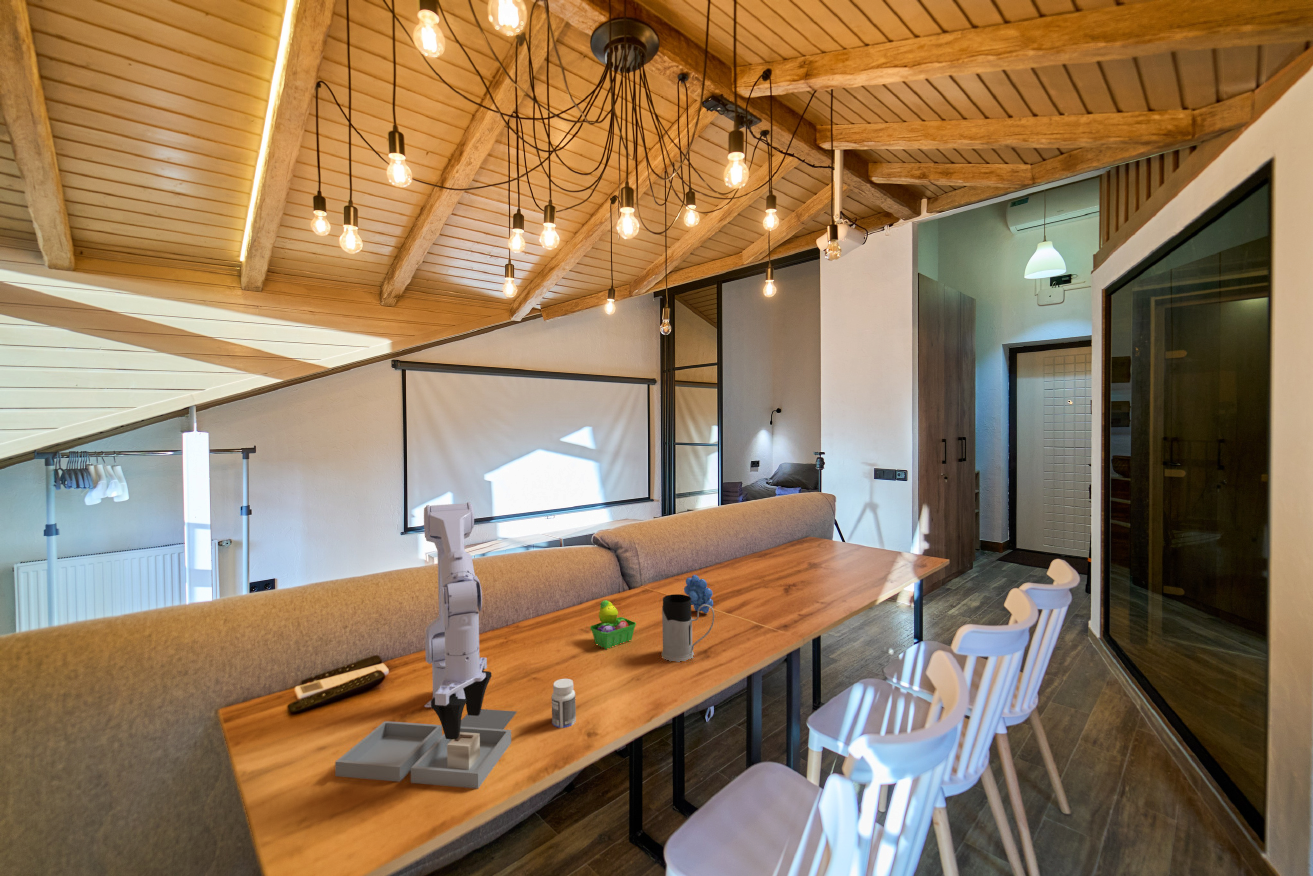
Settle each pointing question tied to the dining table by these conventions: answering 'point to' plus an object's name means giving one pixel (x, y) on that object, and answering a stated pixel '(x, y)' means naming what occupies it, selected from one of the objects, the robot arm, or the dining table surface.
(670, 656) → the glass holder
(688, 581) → the grapes
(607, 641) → the fruit basket
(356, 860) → the dining table surface
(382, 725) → the tray
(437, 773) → the tray
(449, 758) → the letter cube
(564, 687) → the pill bottle
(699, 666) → the dining table surface
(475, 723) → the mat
